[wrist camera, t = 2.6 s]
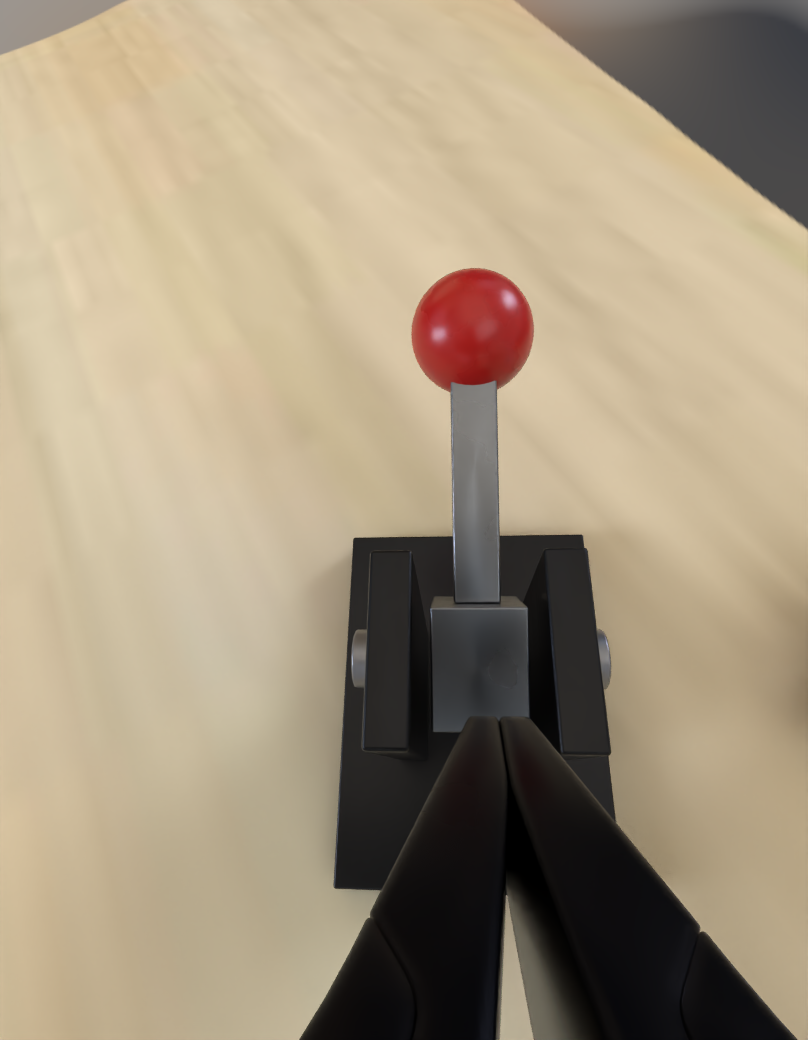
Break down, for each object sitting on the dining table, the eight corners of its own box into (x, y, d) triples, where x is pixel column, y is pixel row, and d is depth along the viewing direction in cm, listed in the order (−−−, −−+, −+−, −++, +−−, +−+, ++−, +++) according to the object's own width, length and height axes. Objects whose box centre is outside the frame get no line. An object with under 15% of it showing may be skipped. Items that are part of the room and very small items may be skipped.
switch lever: (414, 301, 16) (405, 247, 13) (524, 296, 16) (541, 240, 13) (420, 698, 16) (412, 737, 13) (532, 700, 15) (551, 739, 12)
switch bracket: (357, 547, 24) (300, 415, 15) (577, 545, 23) (652, 404, 14) (339, 882, 19) (240, 977, 10) (615, 892, 19) (764, 1004, 10)
